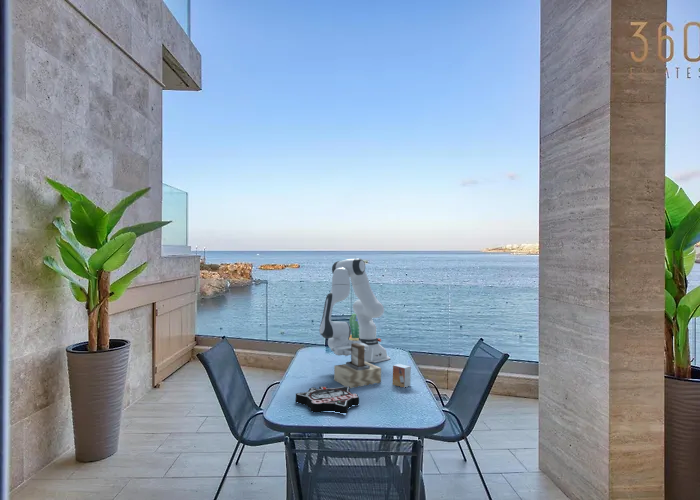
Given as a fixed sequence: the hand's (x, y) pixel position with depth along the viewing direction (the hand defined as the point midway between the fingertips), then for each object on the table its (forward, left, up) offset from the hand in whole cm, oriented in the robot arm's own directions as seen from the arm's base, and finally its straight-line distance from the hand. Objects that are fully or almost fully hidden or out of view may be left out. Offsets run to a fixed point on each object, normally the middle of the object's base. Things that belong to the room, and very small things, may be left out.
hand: (358, 352), depth 236 cm
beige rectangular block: (0, -1, -16) cm, 16 cm away
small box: (-17, +16, -16) cm, 29 cm away
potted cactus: (-43, -74, -16) cm, 87 cm away
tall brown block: (0, -1, -8) cm, 8 cm away
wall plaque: (+29, +23, -17) cm, 41 cm away
